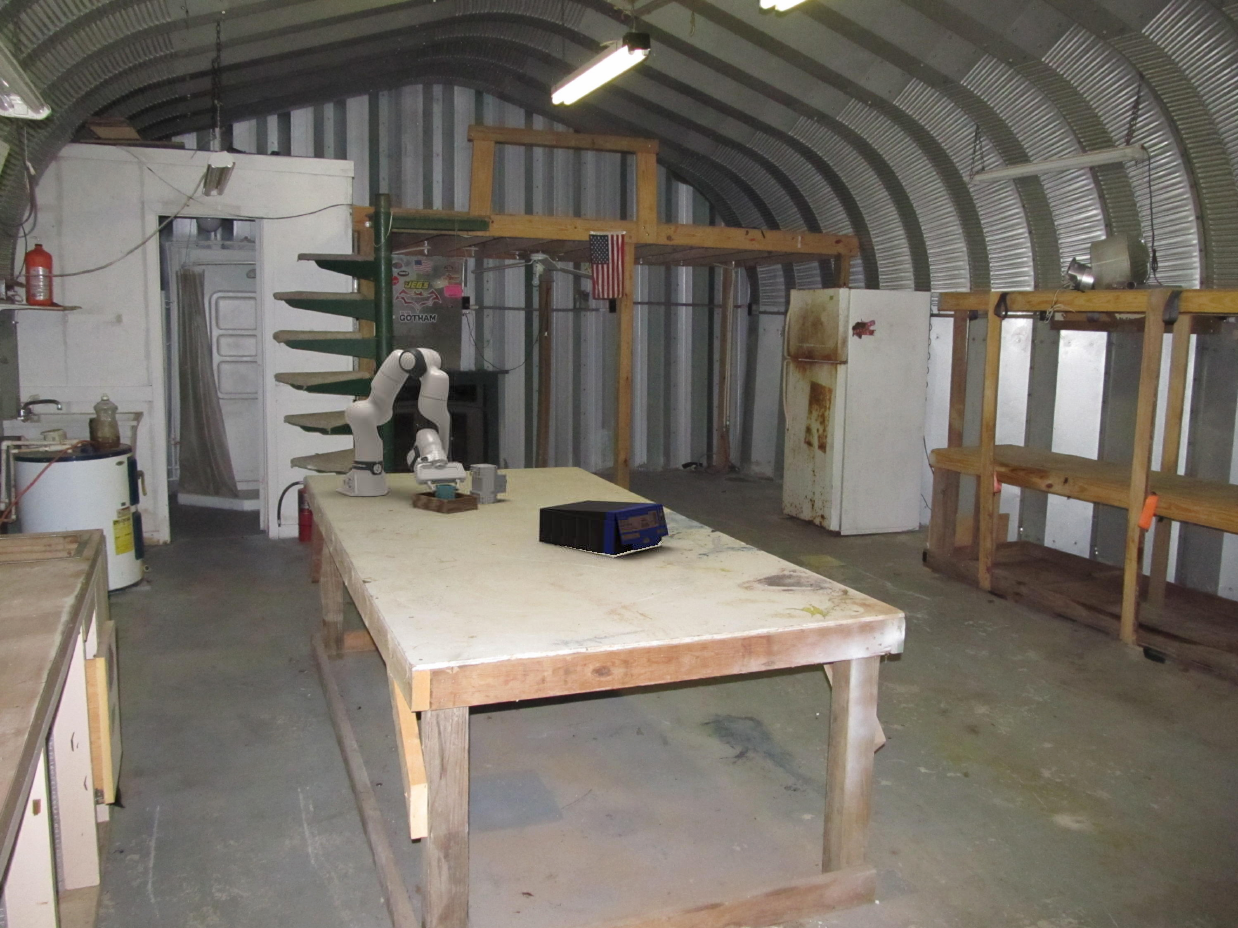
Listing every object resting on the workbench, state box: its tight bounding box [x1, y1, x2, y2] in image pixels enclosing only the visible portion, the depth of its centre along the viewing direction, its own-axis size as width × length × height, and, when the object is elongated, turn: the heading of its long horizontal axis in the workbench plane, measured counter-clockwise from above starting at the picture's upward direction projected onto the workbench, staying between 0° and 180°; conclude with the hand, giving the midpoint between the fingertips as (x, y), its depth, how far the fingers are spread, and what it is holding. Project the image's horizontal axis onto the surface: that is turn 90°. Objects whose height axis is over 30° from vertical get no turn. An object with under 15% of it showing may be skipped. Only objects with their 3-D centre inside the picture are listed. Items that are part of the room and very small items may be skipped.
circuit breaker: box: [469, 463, 508, 505], centre depth 379 cm, size 8×14×15 cm, turn 133°
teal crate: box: [434, 483, 456, 500], centre depth 362 cm, size 6×6×8 cm
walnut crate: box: [411, 491, 479, 515], centre depth 362 cm, size 20×16×5 cm
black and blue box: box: [538, 499, 669, 555], centre depth 305 cm, size 25×35×14 cm
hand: (445, 491), depth 361 cm, fingers open, 8 cm apart
